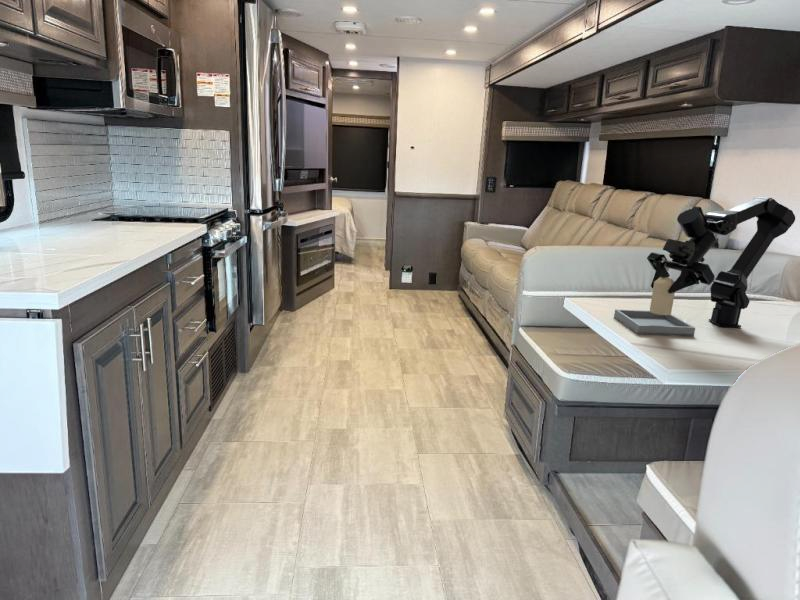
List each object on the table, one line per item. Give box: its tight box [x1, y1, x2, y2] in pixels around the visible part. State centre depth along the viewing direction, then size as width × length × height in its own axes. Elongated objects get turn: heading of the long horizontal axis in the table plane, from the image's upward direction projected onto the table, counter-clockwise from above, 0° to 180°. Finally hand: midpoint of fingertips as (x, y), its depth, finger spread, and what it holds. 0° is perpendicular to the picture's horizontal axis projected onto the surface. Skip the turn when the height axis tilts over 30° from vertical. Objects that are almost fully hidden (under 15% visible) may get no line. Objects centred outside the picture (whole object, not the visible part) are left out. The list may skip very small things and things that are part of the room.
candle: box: [649, 277, 676, 315], centre depth 153 cm, size 6×6×10 cm
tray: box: [613, 309, 696, 337], centre depth 160 cm, size 16×16×2 cm
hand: (660, 290), depth 152 cm, fingers closed on candle, 5 cm apart
